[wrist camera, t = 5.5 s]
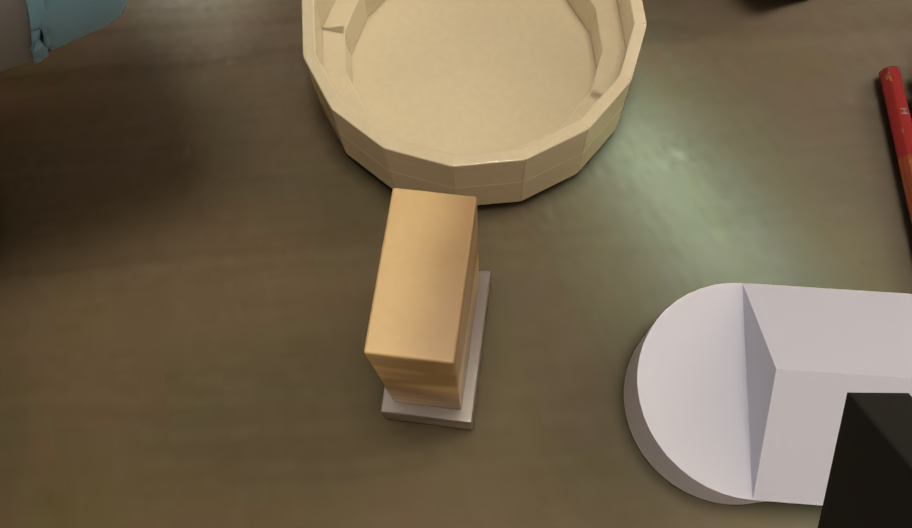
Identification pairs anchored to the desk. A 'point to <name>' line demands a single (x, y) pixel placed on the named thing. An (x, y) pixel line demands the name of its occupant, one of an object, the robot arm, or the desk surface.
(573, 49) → the bowl
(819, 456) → the wedge on round base
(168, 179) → the desk surface
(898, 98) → the pencil
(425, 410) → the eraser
